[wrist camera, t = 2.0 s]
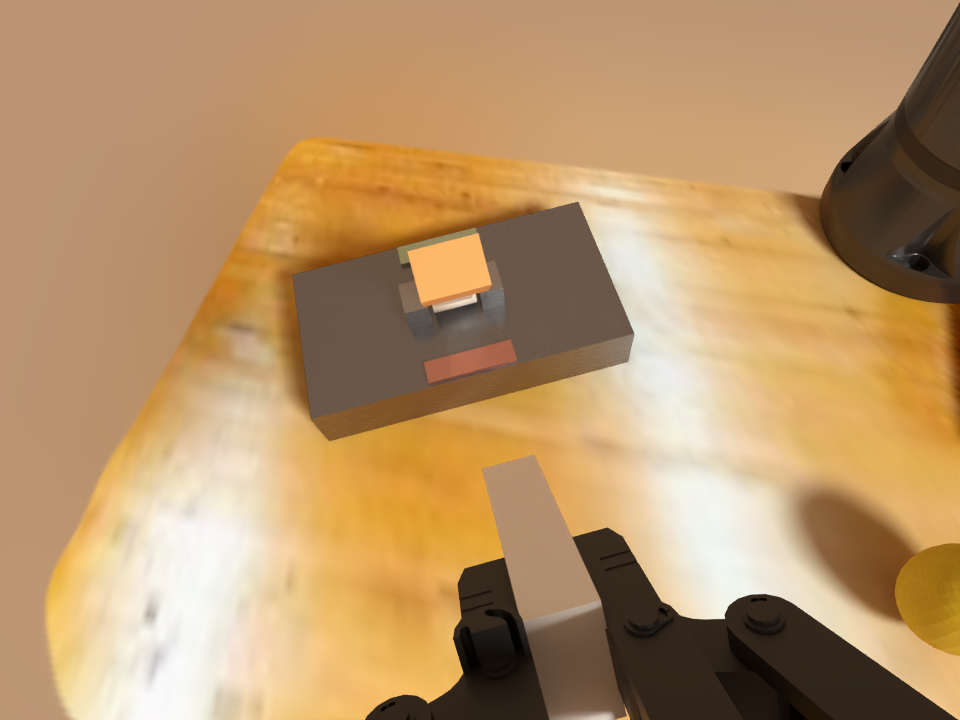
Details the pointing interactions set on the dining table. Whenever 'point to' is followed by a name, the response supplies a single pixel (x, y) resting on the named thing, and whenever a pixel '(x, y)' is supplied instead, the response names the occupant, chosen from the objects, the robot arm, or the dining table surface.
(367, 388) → the box
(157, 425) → the dining table surface
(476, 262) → the lever
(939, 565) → the lemon
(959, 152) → the robot arm
